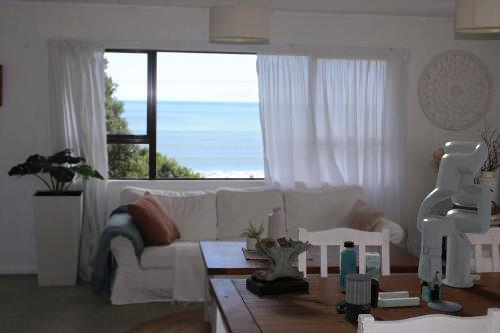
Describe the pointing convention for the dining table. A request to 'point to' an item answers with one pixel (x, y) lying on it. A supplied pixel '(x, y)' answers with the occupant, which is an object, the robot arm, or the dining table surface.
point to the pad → (444, 306)
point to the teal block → (428, 293)
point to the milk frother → (359, 296)
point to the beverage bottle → (347, 263)
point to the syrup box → (372, 265)
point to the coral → (279, 269)
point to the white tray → (396, 299)
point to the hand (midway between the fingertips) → (429, 297)
